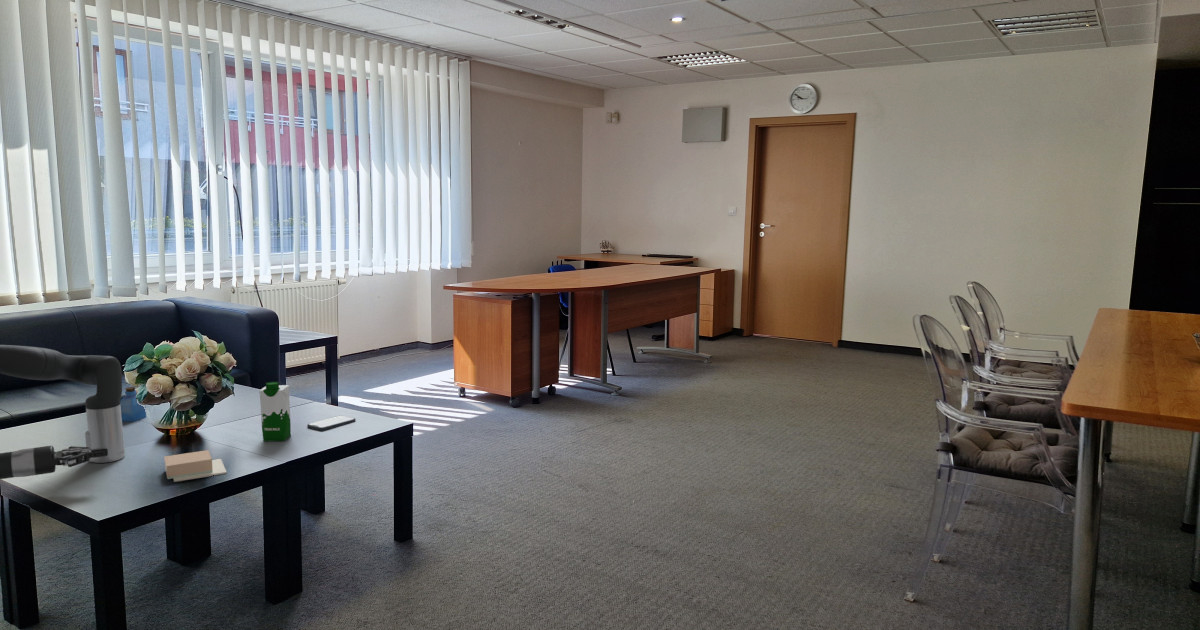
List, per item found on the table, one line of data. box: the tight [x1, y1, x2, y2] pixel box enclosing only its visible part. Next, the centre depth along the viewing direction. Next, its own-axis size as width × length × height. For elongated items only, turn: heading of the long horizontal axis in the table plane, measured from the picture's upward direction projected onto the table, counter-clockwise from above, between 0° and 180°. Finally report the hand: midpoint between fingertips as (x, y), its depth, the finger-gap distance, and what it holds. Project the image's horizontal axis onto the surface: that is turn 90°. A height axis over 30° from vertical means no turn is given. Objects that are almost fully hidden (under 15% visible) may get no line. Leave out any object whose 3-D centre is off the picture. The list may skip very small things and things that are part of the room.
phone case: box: [306, 415, 356, 432], centre depth 288 cm, size 9×2×16 cm
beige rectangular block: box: [163, 449, 213, 480], centre depth 236 cm, size 4×10×12 cm
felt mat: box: [172, 458, 228, 483], centre depth 238 cm, size 14×14×1 cm
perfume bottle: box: [120, 386, 147, 423], centre depth 292 cm, size 6×6×12 cm
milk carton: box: [259, 381, 292, 442], centre depth 269 cm, size 9×9×20 cm
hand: (107, 451), depth 224 cm, fingers closed
